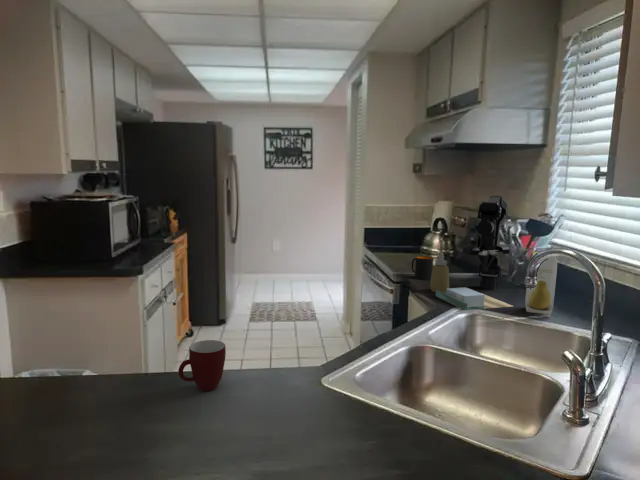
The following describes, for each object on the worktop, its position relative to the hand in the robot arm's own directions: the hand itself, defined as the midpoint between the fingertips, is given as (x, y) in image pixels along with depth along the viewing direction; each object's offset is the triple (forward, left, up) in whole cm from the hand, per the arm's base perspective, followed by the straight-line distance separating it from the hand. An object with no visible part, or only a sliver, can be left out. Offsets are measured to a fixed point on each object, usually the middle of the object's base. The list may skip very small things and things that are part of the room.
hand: (484, 270), depth 190 cm
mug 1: (+115, +53, -12) cm, 127 cm away
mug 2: (+5, -42, -12) cm, 44 cm away
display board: (+8, +5, -12) cm, 15 cm away
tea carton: (+12, +5, -11) cm, 17 cm away
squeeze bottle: (+13, -12, -12) cm, 21 cm away
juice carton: (-8, +22, -12) cm, 26 cm away
